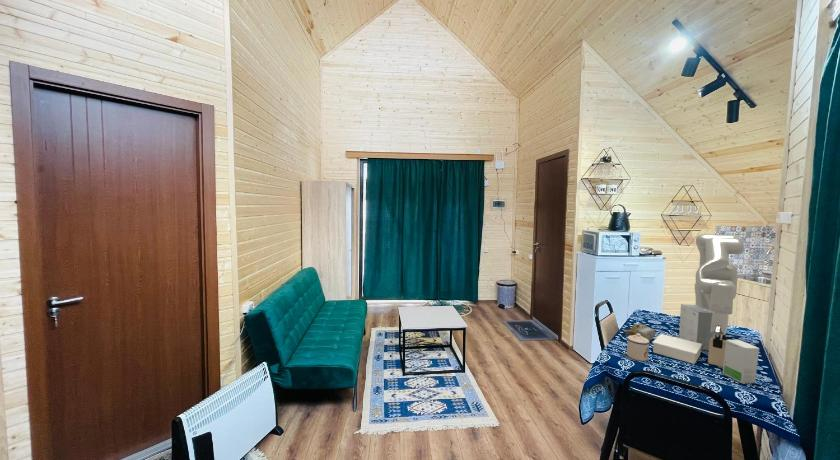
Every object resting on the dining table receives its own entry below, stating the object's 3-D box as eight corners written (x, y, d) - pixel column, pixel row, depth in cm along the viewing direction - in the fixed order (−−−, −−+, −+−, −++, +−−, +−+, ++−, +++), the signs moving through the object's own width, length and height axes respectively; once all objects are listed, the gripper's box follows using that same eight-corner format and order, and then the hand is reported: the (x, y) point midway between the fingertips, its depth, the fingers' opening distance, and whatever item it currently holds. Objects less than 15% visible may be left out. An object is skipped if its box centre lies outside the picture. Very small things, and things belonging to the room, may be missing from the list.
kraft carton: (709, 359, 153) (711, 336, 152) (726, 364, 148) (728, 340, 148) (708, 363, 150) (709, 339, 149) (725, 367, 145) (727, 343, 145)
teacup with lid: (648, 363, 149) (650, 339, 148) (625, 358, 154) (627, 334, 153) (648, 353, 159) (649, 331, 158) (626, 349, 164) (627, 327, 163)
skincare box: (722, 373, 140) (724, 339, 139) (735, 373, 140) (738, 339, 139) (742, 384, 131) (745, 347, 130) (757, 383, 132) (760, 347, 131)
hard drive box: (713, 351, 162) (715, 313, 161) (696, 350, 164) (698, 312, 162) (693, 339, 177) (695, 304, 176) (678, 338, 179) (680, 303, 178)
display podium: (660, 343, 172) (661, 333, 171) (701, 354, 159) (702, 343, 159) (651, 352, 161) (652, 342, 160) (695, 364, 148) (696, 353, 148)
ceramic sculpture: (649, 327, 171) (621, 320, 184) (649, 343, 171) (621, 335, 184) (660, 324, 176) (632, 318, 189) (660, 340, 176) (632, 332, 189)
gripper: (713, 304, 156) (710, 338, 157) (707, 310, 145) (705, 347, 145) (734, 307, 150) (732, 342, 151) (730, 314, 139) (727, 352, 140)
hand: (718, 344), depth 148 cm, fingers open, 9 cm apart
